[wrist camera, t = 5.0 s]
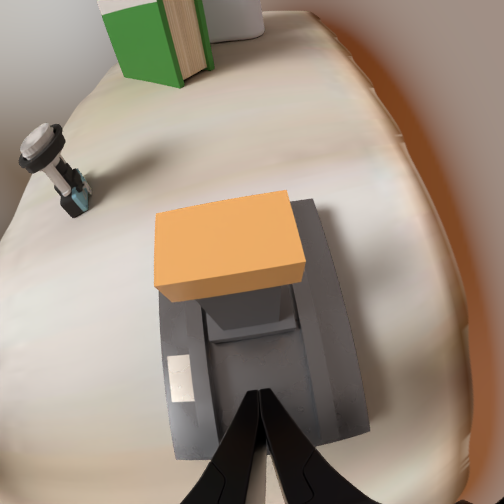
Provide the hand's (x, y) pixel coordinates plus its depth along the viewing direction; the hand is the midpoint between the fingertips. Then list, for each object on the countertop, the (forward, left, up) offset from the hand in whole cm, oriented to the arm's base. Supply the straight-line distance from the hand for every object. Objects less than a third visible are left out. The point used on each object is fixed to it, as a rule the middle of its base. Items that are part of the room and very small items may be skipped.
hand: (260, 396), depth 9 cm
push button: (+21, +17, -9) cm, 28 cm away
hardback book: (+48, +9, -9) cm, 50 cm away
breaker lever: (+5, 0, -6) cm, 8 cm away
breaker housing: (+4, 0, -9) cm, 10 cm away
